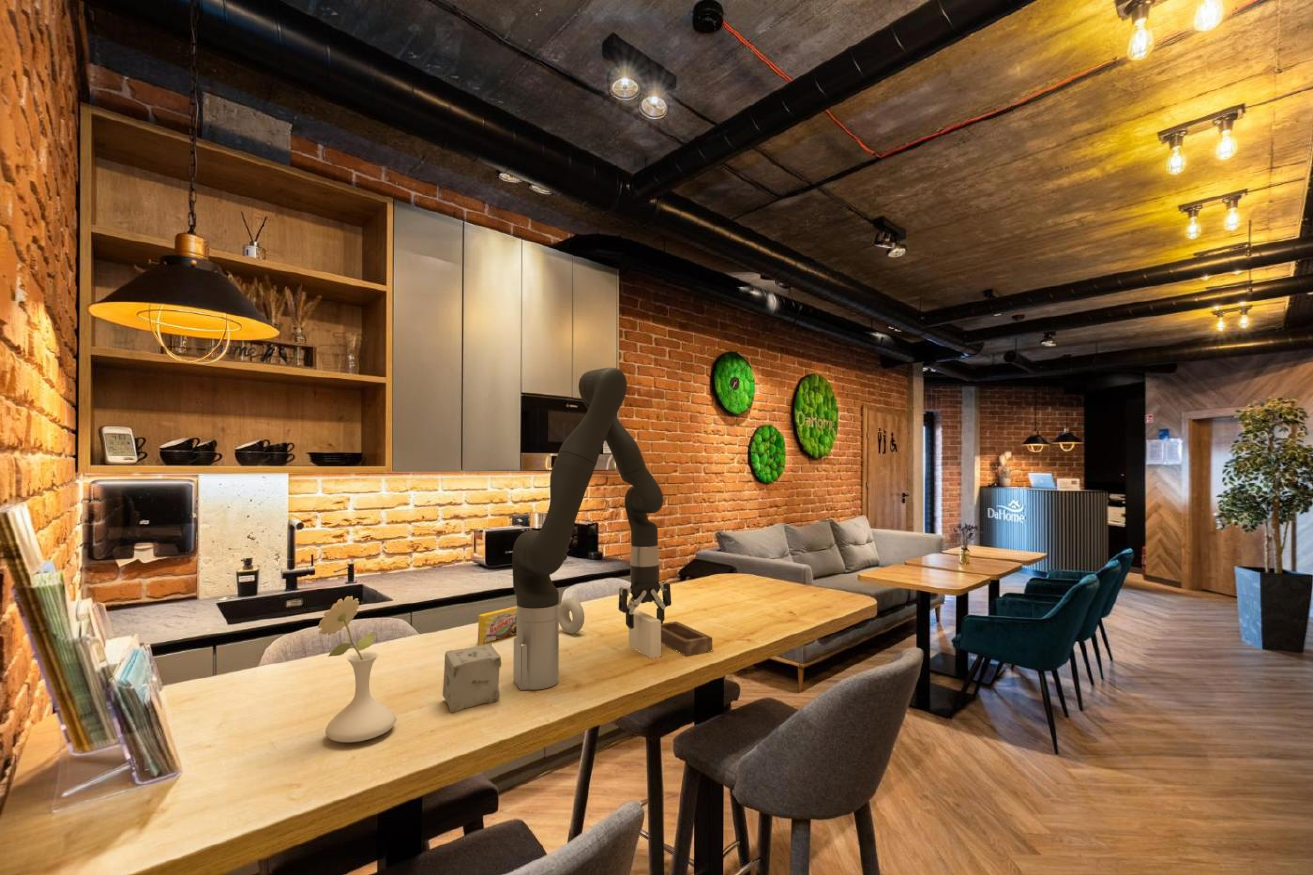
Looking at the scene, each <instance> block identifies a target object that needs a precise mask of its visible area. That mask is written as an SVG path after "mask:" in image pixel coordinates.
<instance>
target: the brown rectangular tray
mask: <svg viewBox="0 0 1313 875" xmlns="http://www.w3.org/2000/svg"><path fill="white" fill-rule="evenodd" d="M662 643H663V644H662ZM661 644H662V645H664V644H665V645H664V646H666V645H667V646H666V647H667V648H670V649H671V648H672V650H673V649H675V650H677V651H678V652H677V651H676V652H677V653H679V652H680V653H679V654H681V653H682V654H681V655H683V654H684V655H685V656H684V655H683V656H684V657H689V656H688V655H691V656H694V655H693V654H696V655H699V654H698V653H701V654H703V653H702V652H706V651H711V650H712V651H713V637H712V636H710V635H707V634H705V633H704V632H700V631H699V630H696V629H694V628H692V627H690V626H688V625H685V624H683V623H681V622H678V621H670V622H663V624H661ZM675 650H674V651H675ZM706 653H707V652H706Z"/></svg>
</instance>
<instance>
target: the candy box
mask: <svg viewBox="0 0 1313 875" xmlns="http://www.w3.org/2000/svg"><path fill="white" fill-rule="evenodd" d="M477 626H478V627H477V644H476V646H481V645H487V644H491V645H492V643H493V644H495V643H499V642H502V641H503V642H504V641H506V640H509V639H514V638H517V605H515V606H512V607H506V608H503V609H498V610H493V611H490V612H485V613H482V614H478V625H477Z"/></svg>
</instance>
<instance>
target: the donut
mask: <svg viewBox="0 0 1313 875" xmlns="http://www.w3.org/2000/svg"><path fill="white" fill-rule="evenodd" d="M570 612H571V614H572V615H571V614H570ZM570 615H571V616H572V619H571V617H570ZM584 624H585V611H584V608H583V606H582V604H581V603H580V602H579V601H578V599H575V598H574V597H567V598H565V599H563V600H562V601H561V603H559V627H560V628H561V629H562V630H563V631H564V632H565V633H567V634H569V635H575V634H577V633H579V632H580V631H581V629H583V626H584Z"/></svg>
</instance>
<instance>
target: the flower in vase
mask: <svg viewBox="0 0 1313 875" xmlns="http://www.w3.org/2000/svg"><path fill="white" fill-rule="evenodd" d="M359 604H360V601H359V598H354V597H353V595H351V596H348V595H347V596H346V597H344V600H343V599H342V598H340V599H338V600H337V602H336V603H333V605H332V606H331V608H330V609H329V610H325V612H324V613H323V616H324V617H323V618H322V619H320V621H319V624H318V625H317V628H318V629H320V630H318V631H319V632H318V634H321V635H323V636H325V635H327V636H331V635H335V634H336V633H338V632H339V631H341V630H343V629H344V627H346V630H347V633H348V637H349V641H350V642H343V643H340V644H338V645H337V646H335V647H334V648H333V649H332V650H331V652H330V653H329V654H328V655H327V656H328V657H340V656H343V655H344V654H345V653H347V651H349V649H350V648H351V647H352V648H353V650H355V652H356V653H353V654H351V655H349V656H348V657H347V661H348V662H349V663H350V665H351V666H352V668H353V674H354V678H355V679H354V680H355V689H354V696H353V699H352V700H351V701H350V702H349V703H348V704H347V705H346V706H345V707H344V708H343V709H342V710H340V711H339V712H338V713H337V714H336V715H335V716H334V717H333V718H332V719H331V720H330V722H328V724H327V726H326V728H325V736H327V738H328V739H330V740H332V741H334V742H339V743H357V742H364V741H368V740H371V739H374V738H376V737H379V736H381V735H383V734H385V733H387V732H389V731H390V730H391V729H392V728H393V727H394V725H395V723H396V722H397V717H396V714H395V712H394V711H393V710H391V708H389V707H388V706H386V705H385V704H383V703H381V702H379V701H378V700H376V699H374V697H372V695H371V693H370V678H371V672H372V668H373V664H374V663H375V661H376V659H377V658H378V657H379V653H377V652H375V651H363V650H365V649H367V648H369V647H371V646H372V645H373V644H374V641H375V633H374V631H372V632H371V633H369V634H367V635H366V636H364V637H363V638H361V639H359V640H358V642H357V643H356V644H355V643H354V641H353V638H352V635H351V631H350V628H349V624H350V622H351V621H352V620H353V619H354V618H355V616H357V614H358V612H359V611H358V609H359V607H360V605H359ZM356 645H357V646H356ZM360 651H363V652H360Z"/></svg>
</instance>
